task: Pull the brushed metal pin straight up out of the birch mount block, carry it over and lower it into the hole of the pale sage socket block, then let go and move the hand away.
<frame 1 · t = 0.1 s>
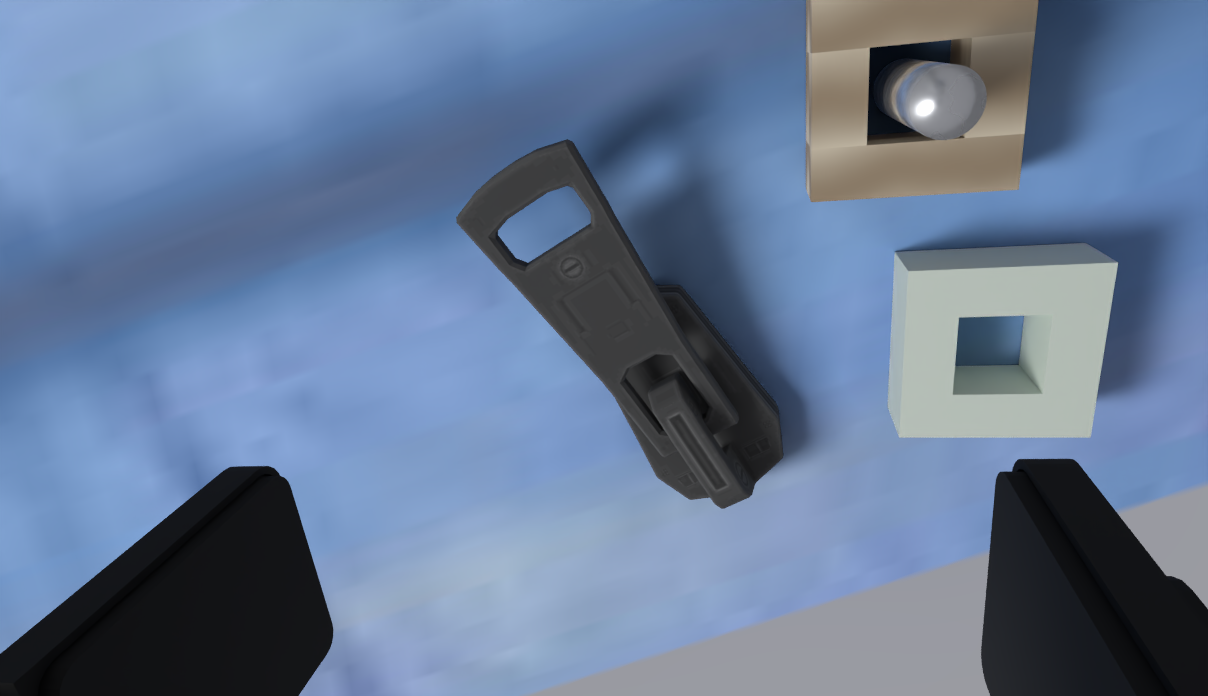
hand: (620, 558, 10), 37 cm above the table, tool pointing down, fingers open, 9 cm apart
sage socket block: (980, 329, 44), on the table
zipper pull: (644, 320, 48), on the table
birch mount block: (902, 88, 40), on the table
metal pin: (902, 88, 40), resting in birch mount block
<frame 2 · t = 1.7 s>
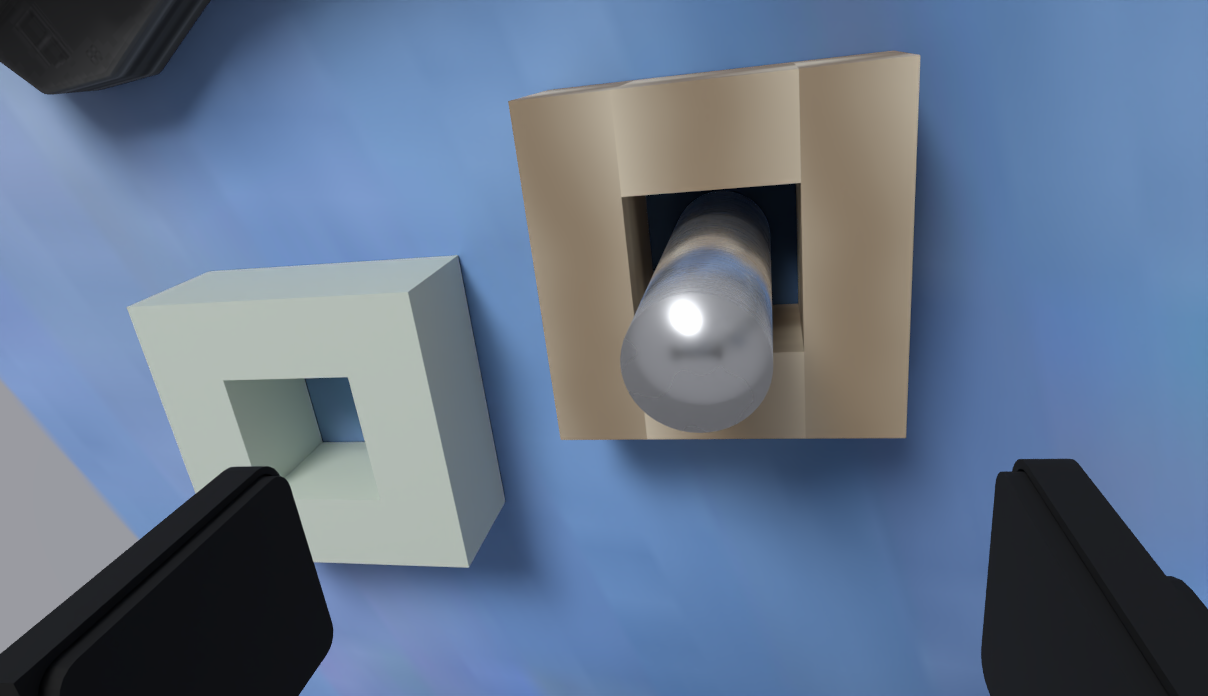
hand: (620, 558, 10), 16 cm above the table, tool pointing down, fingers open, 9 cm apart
sage socket block: (360, 389, 29), on the table
birch mount block: (722, 238, 24), on the table
metal pin: (722, 238, 24), resting in birch mount block
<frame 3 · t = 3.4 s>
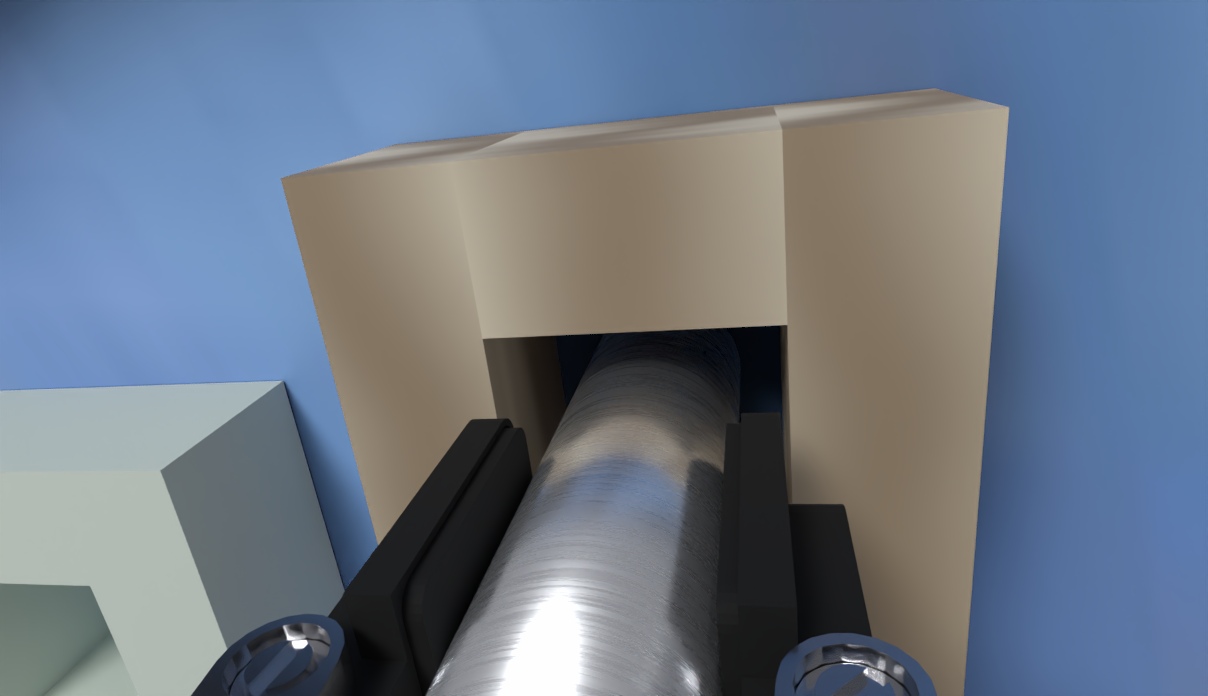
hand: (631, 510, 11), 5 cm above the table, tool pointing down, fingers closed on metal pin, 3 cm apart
sage socket block: (167, 555, 20), on the table
birch mount block: (667, 367, 16), on the table
metal pin: (667, 367, 16), resting in birch mount block, touching gripper
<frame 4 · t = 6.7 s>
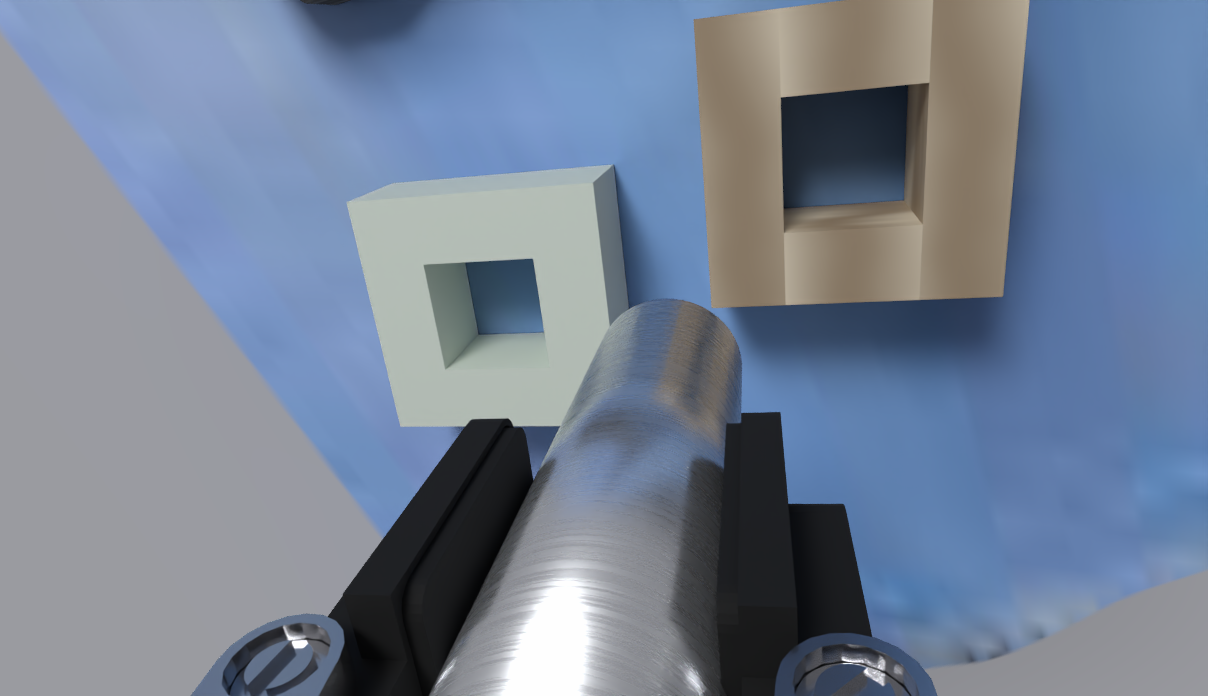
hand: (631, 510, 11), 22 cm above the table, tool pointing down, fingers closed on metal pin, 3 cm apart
sage socket block: (517, 285, 34), on the table
birch mount block: (842, 145, 29), on the table
metal pin: (668, 367, 16), point 17 cm above the table, touching gripper
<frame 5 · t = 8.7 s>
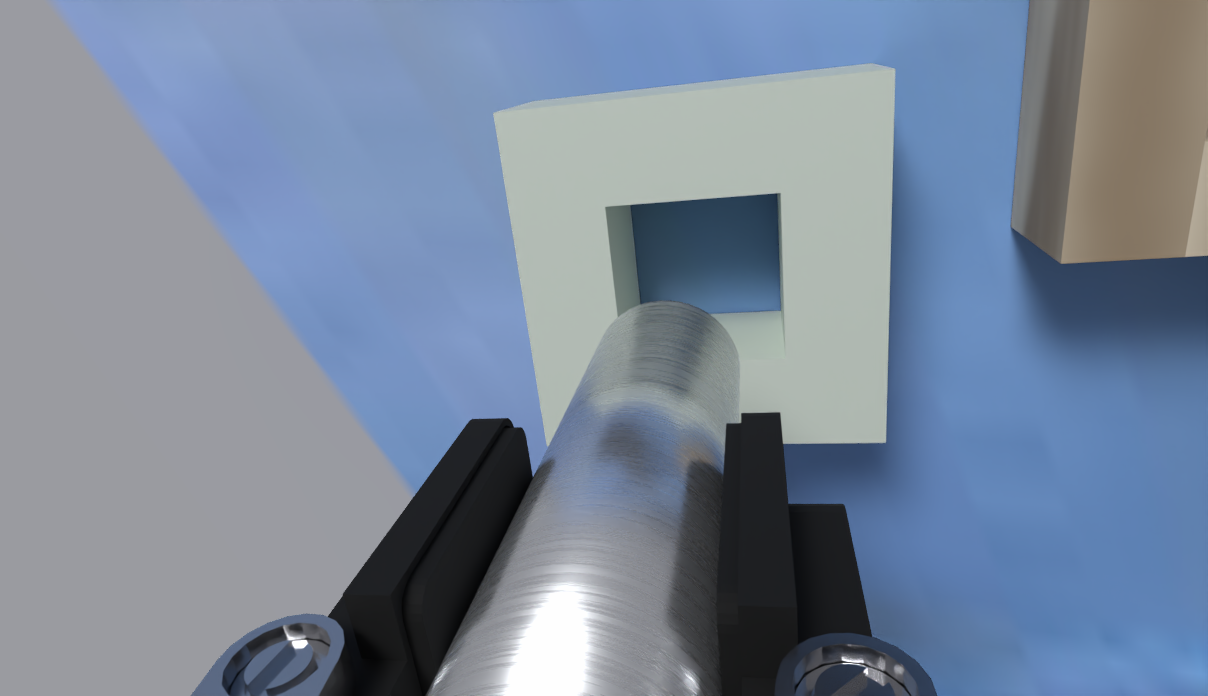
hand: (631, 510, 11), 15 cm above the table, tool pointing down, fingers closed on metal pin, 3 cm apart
sage socket block: (705, 246, 24), on the table
metal pin: (666, 369, 16), point 9 cm above the table, touching gripper
when the fingers open (7 cm above the table, at t = 10.3 s): metal pin drops 1 cm, resting in sage socket block.
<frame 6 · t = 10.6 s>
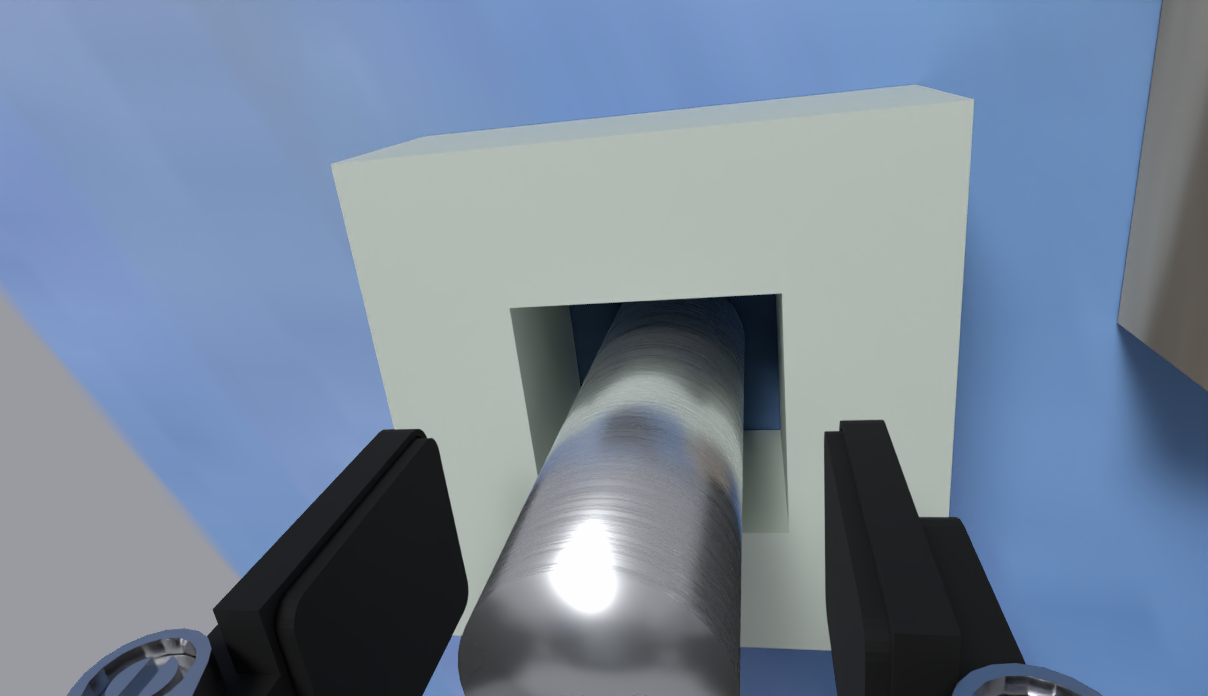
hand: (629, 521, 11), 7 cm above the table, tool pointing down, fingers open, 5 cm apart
sage socket block: (673, 341, 17), on the table
metal pin: (677, 340, 17), resting in sage socket block
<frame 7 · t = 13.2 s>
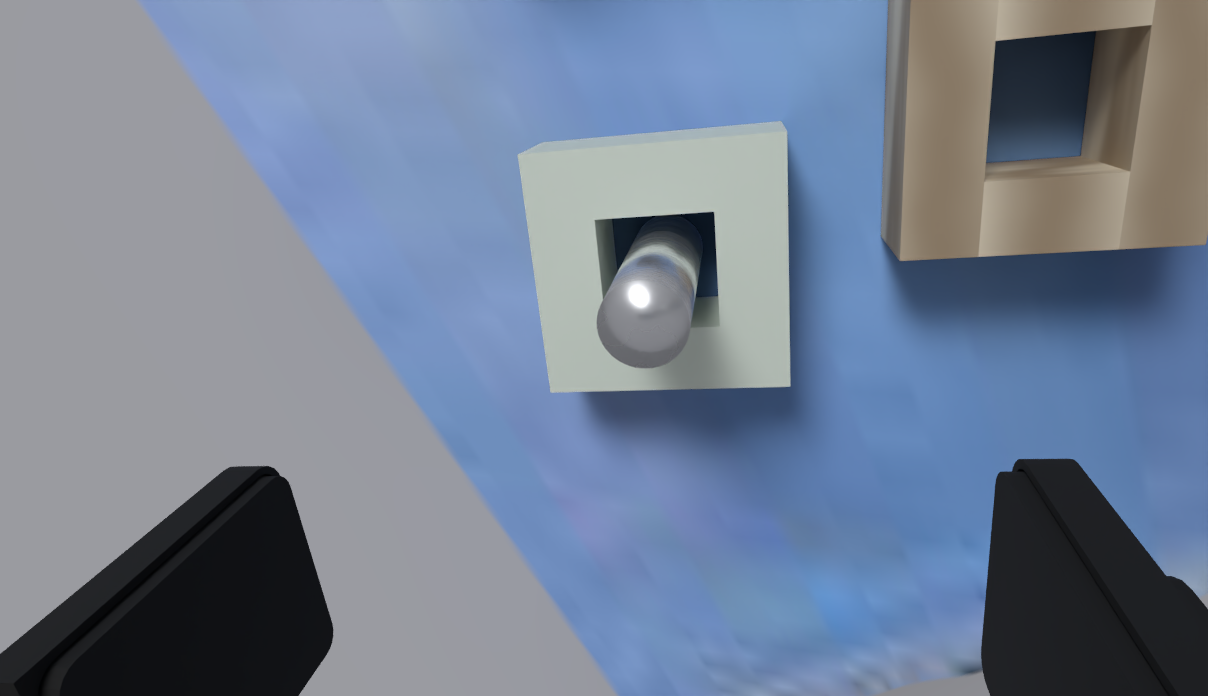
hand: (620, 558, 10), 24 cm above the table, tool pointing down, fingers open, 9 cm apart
sage socket block: (666, 248, 33), on the table
birch mount block: (1022, 99, 29), on the table
metal pin: (668, 248, 33), resting in sage socket block
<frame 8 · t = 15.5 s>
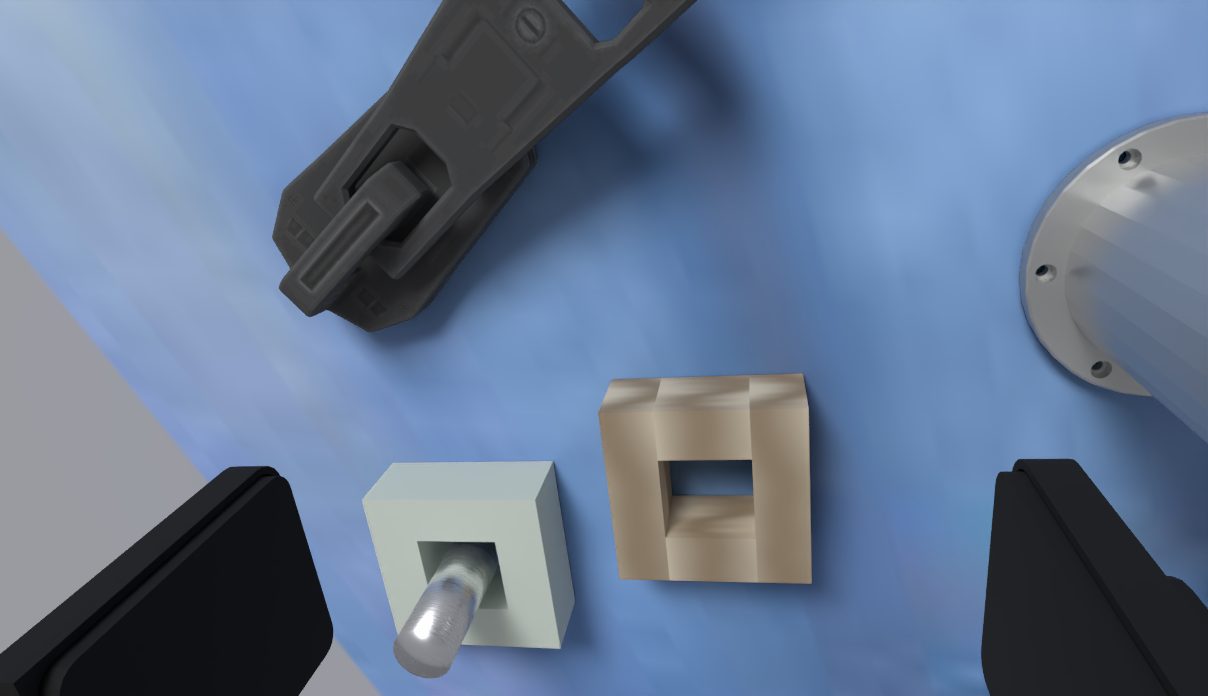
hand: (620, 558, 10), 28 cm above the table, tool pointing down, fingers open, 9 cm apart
sage socket block: (485, 533, 46), on the table
zipper pull: (479, 122, 37), on the table
birch mount block: (710, 459, 41), on the table
metal pin: (486, 532, 46), resting in sage socket block
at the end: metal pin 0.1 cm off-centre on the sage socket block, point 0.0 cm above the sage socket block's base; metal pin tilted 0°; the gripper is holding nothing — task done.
